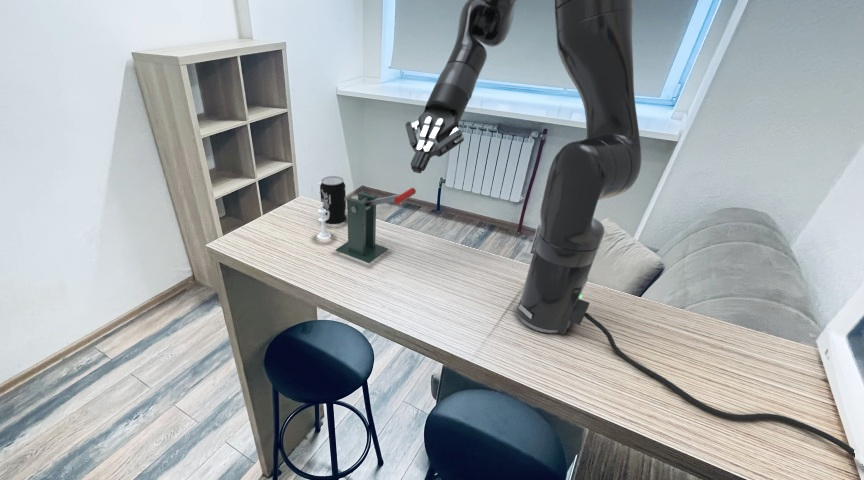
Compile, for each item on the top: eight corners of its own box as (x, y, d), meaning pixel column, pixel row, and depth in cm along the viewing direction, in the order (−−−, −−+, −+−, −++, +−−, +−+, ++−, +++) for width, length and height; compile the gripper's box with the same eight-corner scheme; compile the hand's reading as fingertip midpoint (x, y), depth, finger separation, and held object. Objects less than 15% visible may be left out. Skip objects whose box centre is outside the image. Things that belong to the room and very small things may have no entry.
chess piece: (311, 242, 103) (308, 205, 97) (318, 233, 106) (315, 197, 101) (329, 245, 101) (327, 207, 96) (336, 235, 105) (334, 199, 99)
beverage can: (345, 227, 109) (344, 184, 102) (321, 227, 109) (318, 184, 102) (346, 216, 114) (345, 175, 107) (323, 217, 114) (320, 175, 107)
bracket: (388, 252, 98) (390, 196, 90) (369, 267, 93) (369, 209, 84) (355, 240, 103) (354, 186, 95) (335, 254, 98) (332, 198, 90)
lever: (417, 196, 84) (414, 184, 83) (402, 205, 80) (398, 194, 79) (366, 206, 94) (363, 196, 93) (350, 215, 90) (347, 205, 89)
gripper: (417, 78, 82) (381, 155, 81) (479, 84, 75) (440, 168, 75) (427, 102, 88) (394, 173, 88) (485, 109, 82) (450, 186, 81)
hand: (415, 170), depth 81 cm, fingers closed
